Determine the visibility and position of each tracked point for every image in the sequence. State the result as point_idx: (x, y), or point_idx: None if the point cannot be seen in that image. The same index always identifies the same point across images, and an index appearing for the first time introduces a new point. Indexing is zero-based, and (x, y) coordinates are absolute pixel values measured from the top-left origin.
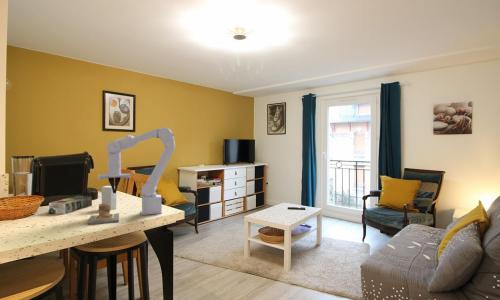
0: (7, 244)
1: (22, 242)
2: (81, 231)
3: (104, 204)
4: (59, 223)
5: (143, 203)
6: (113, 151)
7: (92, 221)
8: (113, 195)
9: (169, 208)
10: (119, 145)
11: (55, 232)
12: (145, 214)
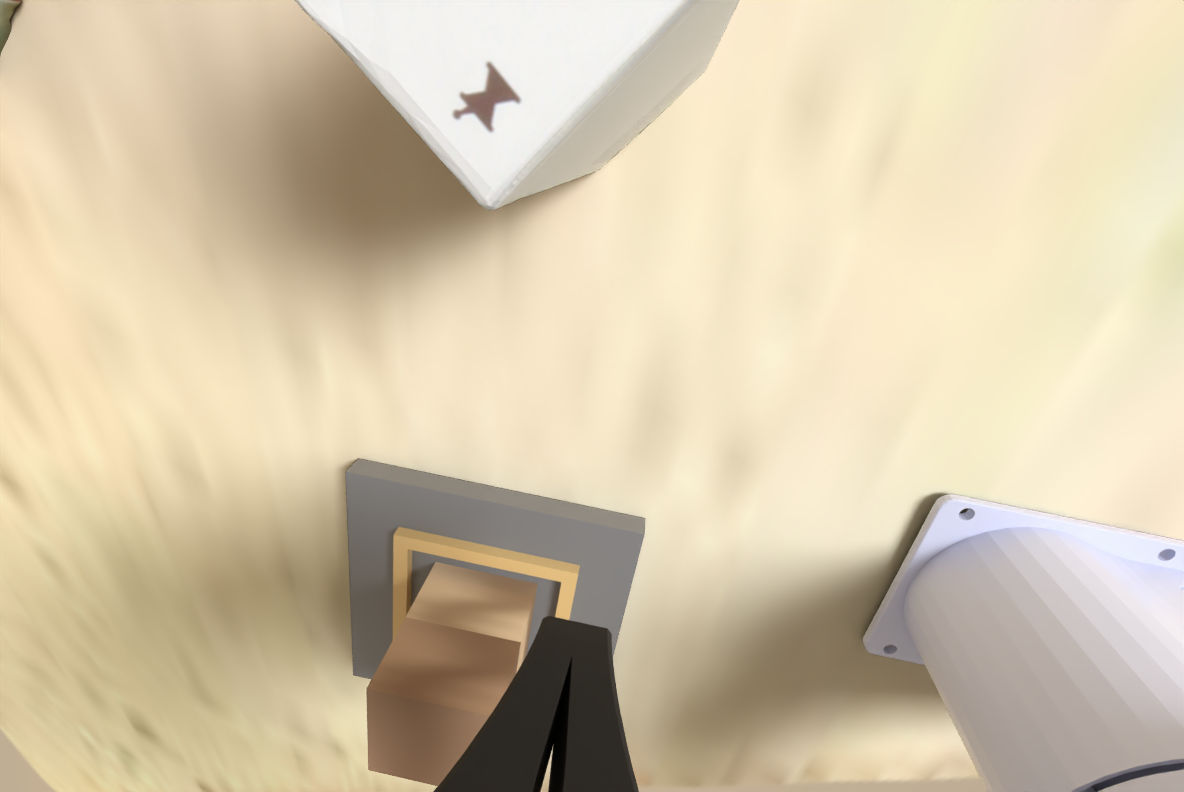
0: (21, 742)
1: (80, 752)
2: (342, 755)
3: (430, 739)
4: (118, 496)
5: (962, 739)
6: None
7: None
8: (636, 114)
9: None
10: None
11: (184, 693)
12: (902, 655)
